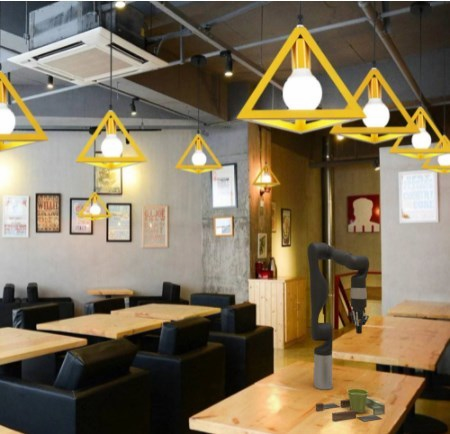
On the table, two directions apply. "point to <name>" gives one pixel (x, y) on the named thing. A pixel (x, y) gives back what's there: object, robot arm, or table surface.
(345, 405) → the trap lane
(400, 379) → the table surface
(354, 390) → the plant pot
